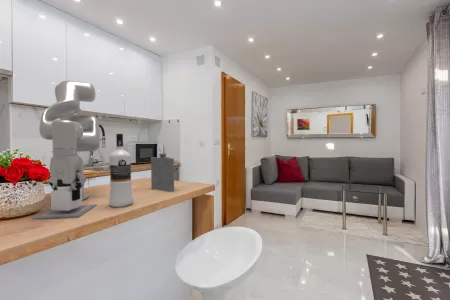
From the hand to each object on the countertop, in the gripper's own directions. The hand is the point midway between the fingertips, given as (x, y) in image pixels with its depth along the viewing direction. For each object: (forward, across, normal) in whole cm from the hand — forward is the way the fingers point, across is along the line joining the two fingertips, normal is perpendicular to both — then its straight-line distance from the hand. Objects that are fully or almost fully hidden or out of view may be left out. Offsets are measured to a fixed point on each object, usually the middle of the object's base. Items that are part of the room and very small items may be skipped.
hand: (67, 199), depth 87 cm
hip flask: (+5, +19, +43) cm, 47 cm away
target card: (+5, 0, 0) cm, 5 cm away
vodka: (+5, +14, +12) cm, 20 cm away
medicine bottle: (+4, 0, 0) cm, 4 cm away
